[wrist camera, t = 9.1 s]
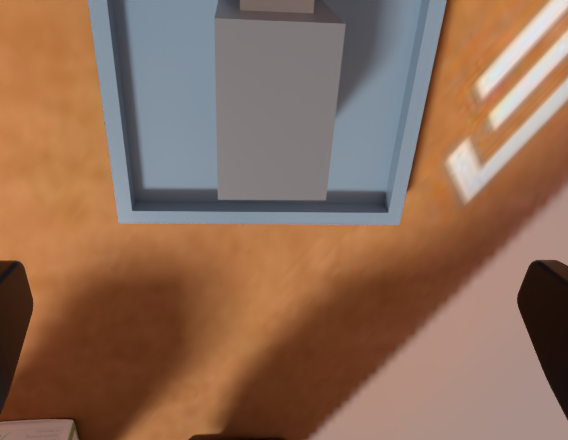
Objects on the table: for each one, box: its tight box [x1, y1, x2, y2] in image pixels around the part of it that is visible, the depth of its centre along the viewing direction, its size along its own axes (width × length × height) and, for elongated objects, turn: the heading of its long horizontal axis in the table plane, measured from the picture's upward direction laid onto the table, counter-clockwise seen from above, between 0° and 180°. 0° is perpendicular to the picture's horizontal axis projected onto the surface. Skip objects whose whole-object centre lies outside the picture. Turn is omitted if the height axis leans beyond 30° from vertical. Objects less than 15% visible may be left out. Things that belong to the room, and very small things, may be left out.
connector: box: [214, 0, 346, 200], centre depth 16 cm, size 7×4×4 cm, turn 177°
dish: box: [88, 0, 447, 225], centre depth 19 cm, size 12×12×1 cm
